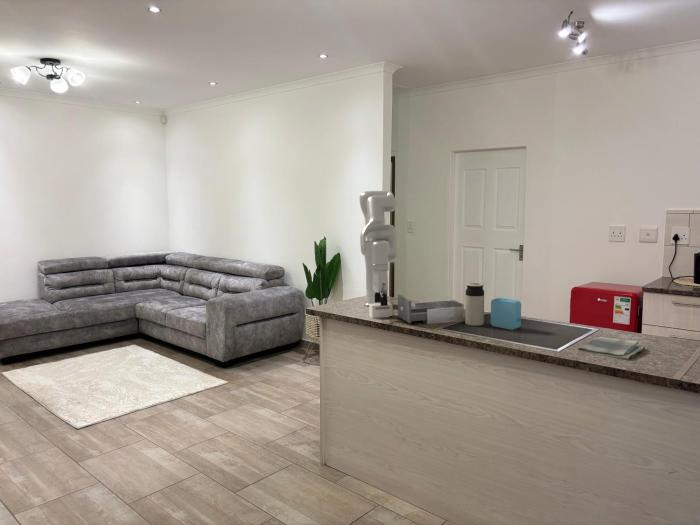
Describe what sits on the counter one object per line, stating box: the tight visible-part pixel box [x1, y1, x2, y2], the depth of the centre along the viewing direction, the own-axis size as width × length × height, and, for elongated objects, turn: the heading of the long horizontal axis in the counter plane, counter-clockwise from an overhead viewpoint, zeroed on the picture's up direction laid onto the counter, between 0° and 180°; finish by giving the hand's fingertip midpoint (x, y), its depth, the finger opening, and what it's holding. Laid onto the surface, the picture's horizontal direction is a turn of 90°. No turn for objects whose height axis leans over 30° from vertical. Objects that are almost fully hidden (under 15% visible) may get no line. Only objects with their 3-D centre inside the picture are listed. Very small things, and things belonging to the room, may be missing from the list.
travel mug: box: [464, 281, 485, 327], centre depth 235 cm, size 8×8×18 cm
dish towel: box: [577, 336, 646, 361], centre depth 195 cm, size 19×18×3 cm
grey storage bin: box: [414, 296, 465, 325], centre depth 247 cm, size 16×18×8 cm
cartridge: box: [368, 301, 394, 319], centre depth 254 cm, size 5×10×6 cm, turn 104°
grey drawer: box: [397, 294, 437, 324], centre depth 244 cm, size 15×18×10 cm
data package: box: [490, 297, 522, 331], centre depth 229 cm, size 12×4×12 cm, turn 43°
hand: (380, 303), depth 252 cm, fingers open, 9 cm apart
